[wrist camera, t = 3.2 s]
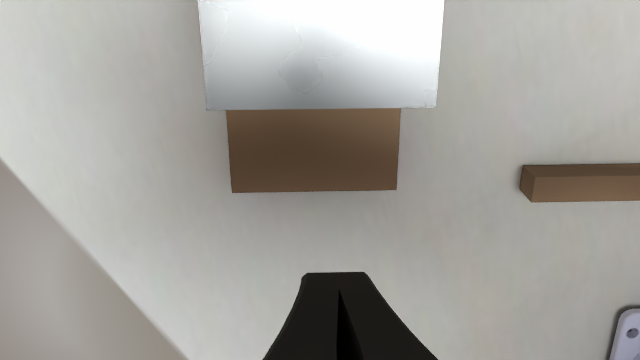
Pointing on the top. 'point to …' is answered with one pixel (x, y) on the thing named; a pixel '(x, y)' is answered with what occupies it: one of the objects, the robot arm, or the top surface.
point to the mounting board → (313, 149)
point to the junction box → (320, 53)
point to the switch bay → (581, 182)
